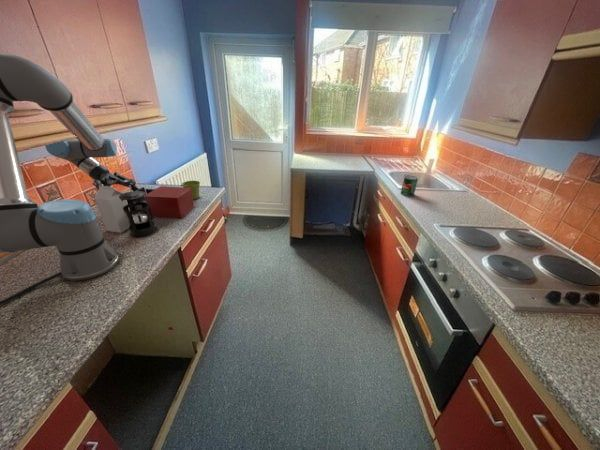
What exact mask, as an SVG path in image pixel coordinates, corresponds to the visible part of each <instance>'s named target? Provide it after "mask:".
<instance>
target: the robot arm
mask: <svg viewBox="0 0 600 450" xmlns="http://www.w3.org/2000/svg"><path fill="white" fill-rule="evenodd" d="M14 102H30V103H35V104H37V105H38V106H39V107H40V108H41V109H43V110H45V111H48V112H50V113H51V114H52V115H53V116H54V118H56V119H57V121H59V122H60V123H61V124H62V126H64V127H65V128H66V130H68V131H69V132H70V134H72V135H73V136H74V135H75V136H77V137H75V136H74V137H75V138H76V139H66V140H67V141H61V142H57V143H53V144H49V145H46V144H45V146H44V147H45V150H46V152H47V153H49V154H50V155H51V156H53V157H55V158H58V159H62V160H65V161H68V162H70V163H72V164H73V165H74V166H76V167H77V168H78V169H80V171H82V172H84V174H86V175H88V176H89V177H90V178H91V179H92V180H94V181H93V182H92V185H93V186H94V187H95V188H96V190H97V191H98V190H99V186H106V187H112V186H114V185H120V186H123V187H126V188H130V187H131V190H132V191H136V190H138V189H140V188H139V187H138V186H137V185H136V184H137V182H136V181H135V180H134V181H133V182H130V184H131V185H130V187H129V185H128V184H127V183H122V181H123V180H126V179H129V177H126V176H125V175H122V174H120V173H119V172H118V171H114V172H113V173H111V172H110V170H109V169H108V168H107V167H105V166H104V165H103V164H101V162H99V161H98V160H97V159H95V158H111V157H112V158H113V157H116V156H117V154H118V151H117V145H116V143H115V141H114V140H113V139H111V138H104V137H103V136H102V135H101V134H100V133H99V131H98V130H97V129H96V128H95V126H94V125H93V124H92V123H91V121H90V120H89V119H88V118H87V116H86V115H85V113H84V112H83V111H82V110H81V109H80V108H79V106H78V105H77V104H76V102H75V101H74V96H73V94H72V92H71V91H70V90H69V89H68V87H67V86H66V85H65V83H64V82H62V81H61V80H60V79H59V78H58V77H57V76H55V75H54V74H53V73H51V72H50V71H49V70H47V69H45V68H44V67H42V66H40V65H39V64H37V63H35V62H34V61H32V60H29V59H27V58H25V57H22V56H19V55H16V54H12V53H6V52H0V254H3V253H14V252H18V251H19V252H20V251H26V250H33V249H41V248H48V247H56V249H57V251H58V253H59V257H60V260H59V261H60V264H59V265H60V272H58V273H56V274H53V275H51V276H49V277H46V278H44V279H42V280H40V281H38V282H35V283H34V284H31V285H30V286H28V287H26V288H24V289H22V290H20V291H19V292H17V293H14V294H12V295H11V296H9V297H6V298H4V299H2V300H0V306H1V305H4V304H6V303H7V302H9V301H12V300H14V299H16V298H17V297H19V296H21V295H23V294H25V293H26V292H29V291H31V290H32V289H35V288H37V287H38V286H41V285H43V284H45V283H47V282H49V281H51V280H53V279H55V278H58V277H60V276H62V277H63V279H64V280H66V281H71V282H79V281H80V282H82V281H86V280H87V281H88V280H91V279H95V278H97V277H100V276H102V275H104V274H106V273H108V272H110V271H111V270H113V269H114V268H115V267H116V266H117V265H118V263H119V262H120V257H119V255H118V254H119V253H118V252H117V251H116V250H115V249H114V248H113V247H112V246H110V245H109V243H108V242H107V241H106V240H105V237H104V234H103V232H102V230H101V229H102V228H101V227H100V224H99V222H98V219H97V215H96V213H95V212H94V210H93V208H92V206H91V205H90V204H89V203H88V202H86V201H84V200H80V199H75V198H74V199H73V198H64V199H63V198H62V199H55V200H49V201H45V202H42V203H41V204H39V205H38V202H36V201H34V200H33V199H31V198H29V195H28V190H27V187H26V183H25V179H24V174H23V171H22V167H21V161H20V158H19V153H18V150H17V145H16V142H15V138H14V133H13V129H12V125H11V121H10V117H9V115H8V116H7V115H6V114H7V113H8V112H10V111H13V110H14V111H15V107H14ZM8 117H9V118H8ZM131 190H130V191H131Z"/></svg>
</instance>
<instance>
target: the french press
mask: <svg viewBox="0 0 600 450" xmlns="http://www.w3.org/2000/svg"><path fill="white" fill-rule="evenodd" d="M133 181H135V179H133V178H128V179H126V180H123V181H122V183H127V184H128V185H129V187H128V188H129V190H130V191H127V192H124V193H123V194H121V195H120V196H119V198H120V199H121V201H122V202H123V200H126V201H127V200H129V201H132V202H134V203H131V204H128V203H127V205H126V206H124V207H123V211H124V213H126V214H127V217H128V222H129V223H130V227H129V228H128V229H129V232H130V236H131V237H132V238H136V239H137V238H146V237H149V236H151V235H153V234H155V233H156V232H157V228H156V225H155V223H154V221H153V219H154V217H152V214H151V210H150V207H149V203H148V201H144V200H145V199H146V198H145V195H147V194H146V193H145V192H146V191H145V192H143V191H132V190H131V187H130V185H131V184H130V182H133ZM142 201H143V202H142ZM136 205H142V208H143V209H140V210H137V206H136ZM132 206H135V207H136V210H135V211H130V209H129V207H132ZM141 212H144V213H141ZM133 215H134V216H133Z"/></svg>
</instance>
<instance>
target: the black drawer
mask: <svg viewBox="0 0 600 450" xmlns="http://www.w3.org/2000/svg"><path fill="white" fill-rule="evenodd" d="M155 189H156V188H148V187H147V188H146V187H144V186H142V187H140V188H139V189H138V190H136V191H143V192H145V193H146V195H147V194H148V193H150V192H152V191H153V190H155ZM144 201H145V200H144ZM126 202H127V205H128V204H131V203H134V202H132V201H129V200H126ZM142 202H143V201H142ZM136 206H137V210H140V209H143V208H142V205H136ZM135 210H136V207H135V206H132V207H129V211H135ZM140 214H144V212H141V213H140Z"/></svg>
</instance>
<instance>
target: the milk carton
mask: <svg viewBox="0 0 600 450" xmlns="http://www.w3.org/2000/svg"><path fill="white" fill-rule="evenodd" d="M121 194H124V193H123V192H122V191H121V192H120V191H119V190H117V188H115V187H113V186H110V187H106V186H103V185H102V186H99V190H97V192H96V194H95V196H94V201H95V204H96V207H97V210H98V211H99V214H100V218H101V219H102V222H103V224H104V227H105V229H106V232H114V233H120V234H122V233H124V232H125V231H127V230H128V229H129V227H130V223H129V222H128V217H127V214H126V213H124V211H123V207H124V206H126V205H128V203H127V200H123V202H122V201H121V199H120V198H119V196H120V195H121Z"/></svg>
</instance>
